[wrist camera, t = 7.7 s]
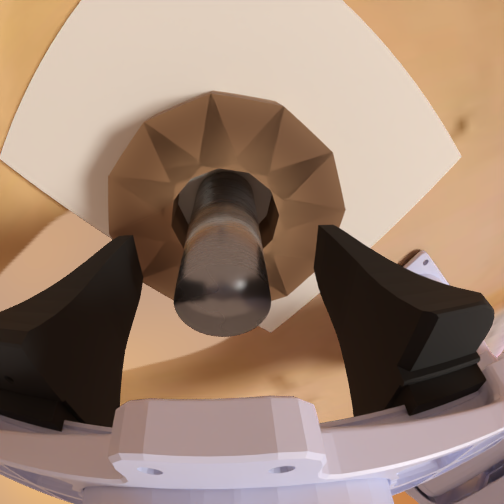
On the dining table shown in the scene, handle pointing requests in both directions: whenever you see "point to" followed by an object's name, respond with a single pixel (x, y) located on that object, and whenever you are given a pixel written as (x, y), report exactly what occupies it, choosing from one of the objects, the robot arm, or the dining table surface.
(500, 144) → the dining table surface
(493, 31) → the dining table surface
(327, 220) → the ring
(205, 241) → the peg
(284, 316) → the mat
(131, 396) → the dining table surface
